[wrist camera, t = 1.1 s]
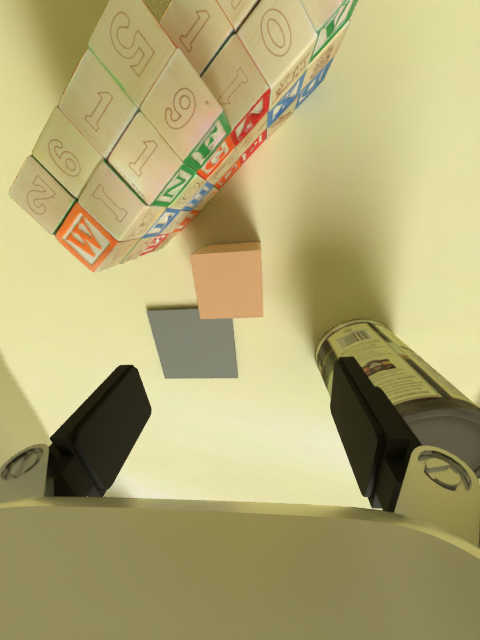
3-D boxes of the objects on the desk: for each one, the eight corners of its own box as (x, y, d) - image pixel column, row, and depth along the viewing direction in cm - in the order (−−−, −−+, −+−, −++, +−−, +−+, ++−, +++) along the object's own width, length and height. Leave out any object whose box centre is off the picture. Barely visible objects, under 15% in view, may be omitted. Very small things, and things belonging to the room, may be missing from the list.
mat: (148, 309, 29) (146, 311, 29) (230, 306, 28) (230, 307, 27) (166, 376, 34) (165, 378, 33) (237, 375, 32) (237, 377, 32)
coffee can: (352, 395, 32) (413, 511, 20) (299, 358, 30) (327, 460, 18) (414, 348, 28) (541, 455, 16) (357, 302, 26) (449, 382, 14)
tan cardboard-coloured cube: (207, 245, 25) (189, 254, 19) (260, 241, 24) (261, 250, 18) (214, 295, 27) (200, 319, 21) (262, 293, 27) (263, 316, 20)
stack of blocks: (280, -1, 17) (320, -419, 6) (324, 81, 19) (421, -121, 8) (120, 204, 24) (0, 194, 13) (163, 250, 26) (90, 275, 15)
